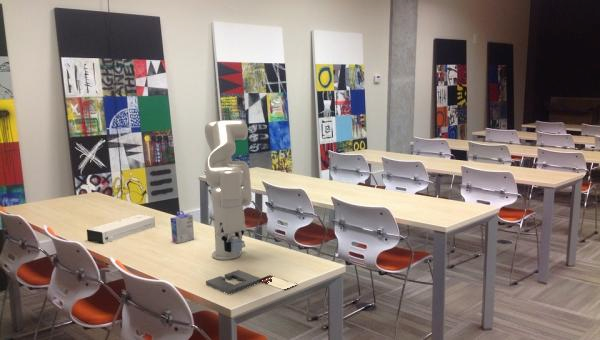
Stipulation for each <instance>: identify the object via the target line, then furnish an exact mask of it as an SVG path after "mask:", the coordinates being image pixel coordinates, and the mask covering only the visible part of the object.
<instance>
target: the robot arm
mask: <svg viewBox="0 0 600 340" xmlns="http://www.w3.org/2000/svg"><path fill="white" fill-rule="evenodd" d="M248 134H249V128H248V125H247V122H246V121H245V120H243V119H230V120H229V119H223V120H217V121H215V120H213V121H210V122H207V123H206V124H205V125H204V135H205V138H206V143H207V145H208V148H209V149H210V153H209V154H208V155H207V157H206V159H205V161H204V162H205V163H204V171H205V173H204V174H205V180H206V183H207V185H208V186H209V187H214V188H213V189H211V192H210V198H211V203H212V209H213V222H214V247H215V249H214V251H213V252H212V253H211V255H212V256H211V257H212V258H213V259H215V260H220V261H227V260H228V261H229V260H234V259H237V258H239V257H241V253H242V251H240V252H237V253H231V242H229V241H230V235H233V236H237V237H239V238H242V239H243V235H244V234H245V233H246V231H247V230H248V227H247V225H246V219H245V210H244V207H247V206H250V205H251V204H252V200H253V199H252V197H253V196H252V185H251V173H250V167H249V164H248V162H246V161H244V160H232V159H233V158H232V156H233V155H234V154H235V153H236V151H237V149H236V142H235V141H240V140H241V141H245V140H246V139H247V138H248V136H249V135H248ZM226 237H227V238H226ZM221 239H222V240H223V241H224V242H223V241H221ZM243 248H246V243H245V242H244V243H242V249H243ZM224 249H225V250H224Z"/></svg>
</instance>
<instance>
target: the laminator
mask: <svg viewBox="0 0 600 340" xmlns="http://www.w3.org/2000/svg"><path fill="white" fill-rule="evenodd" d="M155 224H156V222H155V216H153V215H148V214H147V215H146V214H139V213H138V214H136V215H132V216H129V217H126V218H122V219H119V220H115V221H112V222H111V221H110V222H109V223H105V224H102V225H97V226H95V227H91V228H88V229H86V236H87V237H86V238H87V241H89V240H90V241H89V242H94V243H99V244H100V243H101V244H103V245H105V244H107V242H108V243H111V242H114V241H117V240H120V239H123V238H126V237H129V236H132V235H134V234H138V233H141V232H144V231H147V230H150V229H153V228H155V226H156V225H155ZM131 234H132V235H131ZM128 235H129V236H128ZM125 236H126V237H125ZM110 241H111V242H110ZM104 243H105V244H104Z"/></svg>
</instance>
